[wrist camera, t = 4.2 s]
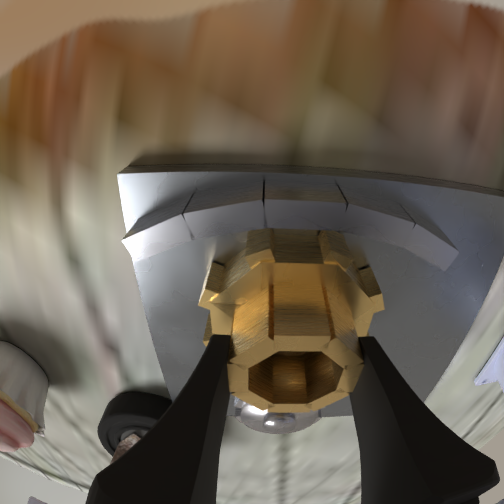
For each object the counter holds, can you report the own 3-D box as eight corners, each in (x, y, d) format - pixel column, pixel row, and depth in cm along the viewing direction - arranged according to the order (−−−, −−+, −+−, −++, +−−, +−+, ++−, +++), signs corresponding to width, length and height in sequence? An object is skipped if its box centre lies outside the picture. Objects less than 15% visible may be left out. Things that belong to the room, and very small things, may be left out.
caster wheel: (156, 358, 23) (237, 429, 25) (79, 406, 24) (153, 464, 27) (134, 420, 16) (238, 490, 19) (53, 456, 18) (142, 514, 21)
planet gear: (386, 228, 12) (428, 300, 8) (351, 351, 16) (366, 423, 12) (201, 221, 12) (172, 294, 9) (212, 349, 16) (200, 422, 12)
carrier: (511, 192, 12) (554, 226, 9) (416, 397, 20) (427, 435, 17) (126, 166, 12) (85, 200, 9) (177, 399, 21) (168, 441, 18)
